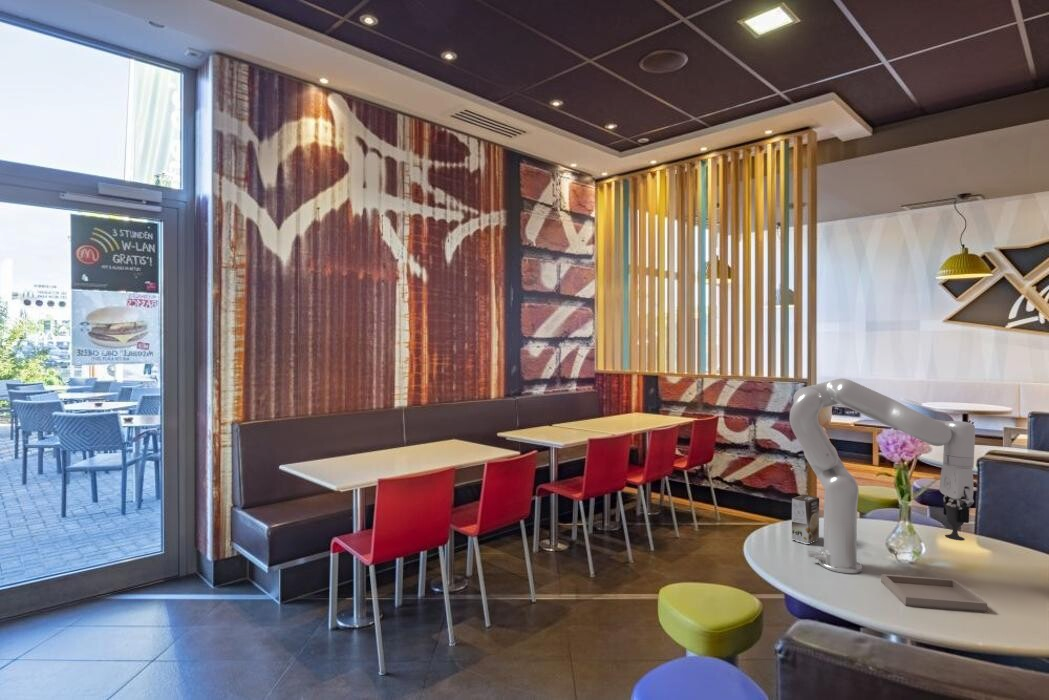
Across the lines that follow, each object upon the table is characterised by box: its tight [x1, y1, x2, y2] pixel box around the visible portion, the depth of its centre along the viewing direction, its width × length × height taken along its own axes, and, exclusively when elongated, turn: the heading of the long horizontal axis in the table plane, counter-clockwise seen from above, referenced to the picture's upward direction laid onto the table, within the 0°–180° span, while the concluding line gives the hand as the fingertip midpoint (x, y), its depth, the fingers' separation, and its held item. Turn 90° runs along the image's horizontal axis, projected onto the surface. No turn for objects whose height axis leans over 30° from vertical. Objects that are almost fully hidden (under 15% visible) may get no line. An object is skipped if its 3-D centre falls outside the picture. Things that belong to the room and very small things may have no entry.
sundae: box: [942, 496, 966, 542], centre depth 173 cm, size 7×7×15 cm
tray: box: [880, 573, 988, 613], centre depth 162 cm, size 20×16×2 cm
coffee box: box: [791, 494, 820, 544], centre depth 208 cm, size 9×6×16 cm
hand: (955, 518), depth 173 cm, fingers closed on sundae, 6 cm apart
